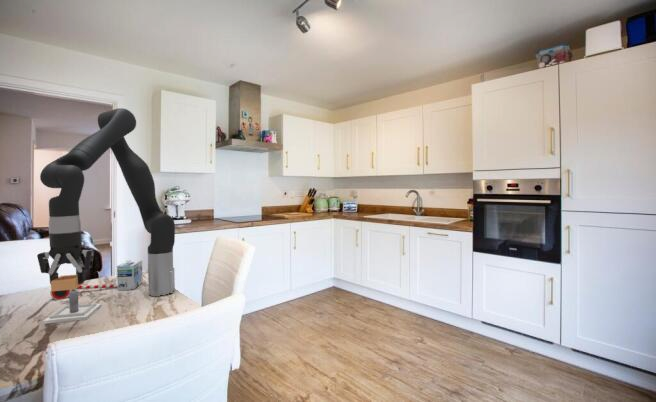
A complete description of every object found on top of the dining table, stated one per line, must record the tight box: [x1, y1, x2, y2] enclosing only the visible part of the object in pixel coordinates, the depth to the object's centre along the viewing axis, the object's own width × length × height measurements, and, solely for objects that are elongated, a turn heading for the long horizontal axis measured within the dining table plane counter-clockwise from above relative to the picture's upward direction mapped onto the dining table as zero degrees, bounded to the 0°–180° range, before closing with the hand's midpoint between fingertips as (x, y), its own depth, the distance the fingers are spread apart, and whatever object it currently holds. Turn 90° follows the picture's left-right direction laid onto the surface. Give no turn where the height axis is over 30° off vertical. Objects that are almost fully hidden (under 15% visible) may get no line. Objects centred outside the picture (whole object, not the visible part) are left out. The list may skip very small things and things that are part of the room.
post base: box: [42, 290, 102, 325], centre depth 108 cm, size 12×12×8 cm
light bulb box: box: [116, 259, 144, 292], centre depth 139 cm, size 11×7×11 cm, turn 13°
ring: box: [50, 274, 85, 292], centre depth 97 cm, size 6×6×3 cm
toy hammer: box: [50, 284, 118, 301], centre depth 132 cm, size 23×12×6 cm, turn 119°
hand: (68, 284), depth 97 cm, fingers closed on ring, 6 cm apart
